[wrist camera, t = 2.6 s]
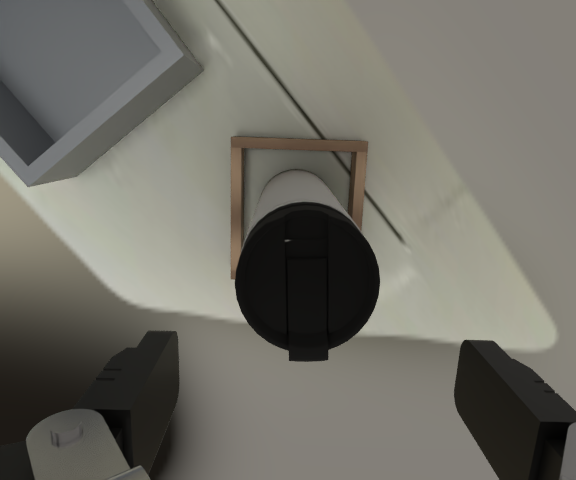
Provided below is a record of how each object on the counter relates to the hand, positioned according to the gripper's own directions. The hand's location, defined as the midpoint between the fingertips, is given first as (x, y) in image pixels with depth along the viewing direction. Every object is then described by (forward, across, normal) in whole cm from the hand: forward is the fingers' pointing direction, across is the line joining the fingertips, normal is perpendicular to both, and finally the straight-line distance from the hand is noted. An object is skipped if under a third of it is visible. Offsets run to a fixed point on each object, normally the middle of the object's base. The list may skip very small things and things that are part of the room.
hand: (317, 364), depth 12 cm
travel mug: (+26, 0, 0) cm, 26 cm away
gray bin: (+26, +18, -12) cm, 33 cm away
